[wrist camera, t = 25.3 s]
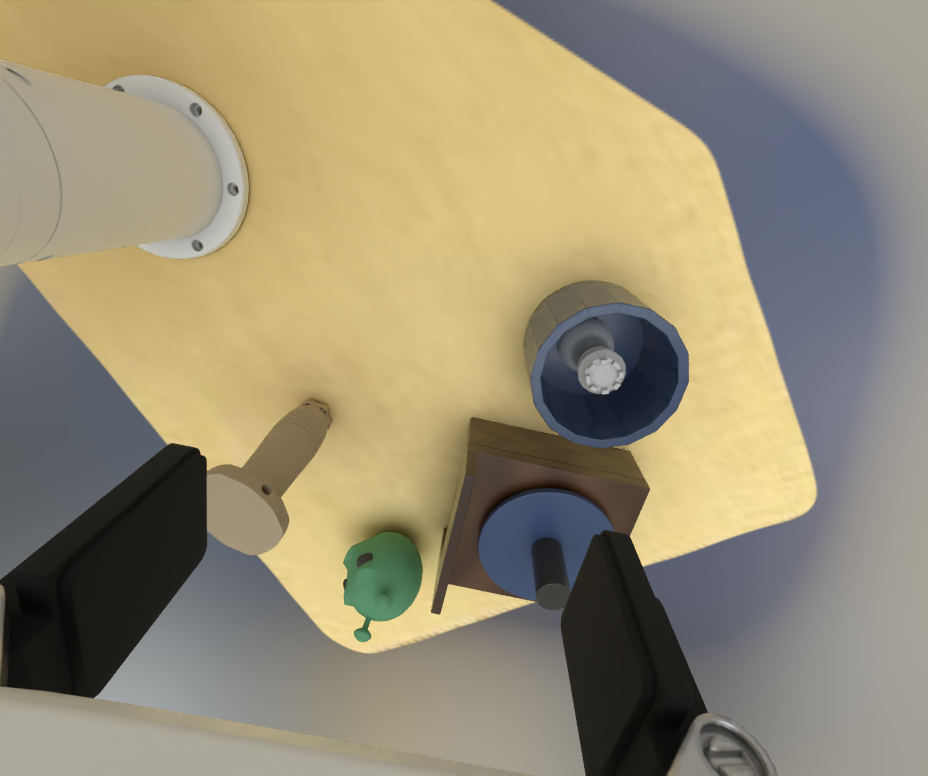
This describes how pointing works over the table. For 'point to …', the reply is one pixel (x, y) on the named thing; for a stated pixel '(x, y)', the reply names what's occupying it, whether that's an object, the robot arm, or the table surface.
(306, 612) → the table surface
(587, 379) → the rook chess piece
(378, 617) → the alien toy
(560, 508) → the lid
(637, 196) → the table surface
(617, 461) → the shelf
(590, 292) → the pot
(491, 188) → the table surface
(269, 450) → the handle
